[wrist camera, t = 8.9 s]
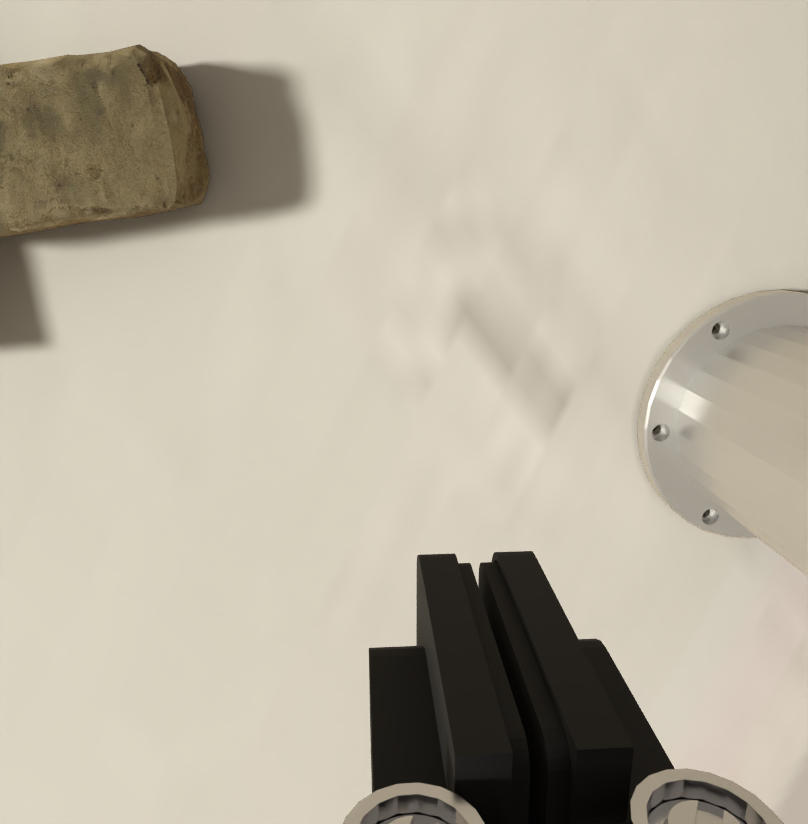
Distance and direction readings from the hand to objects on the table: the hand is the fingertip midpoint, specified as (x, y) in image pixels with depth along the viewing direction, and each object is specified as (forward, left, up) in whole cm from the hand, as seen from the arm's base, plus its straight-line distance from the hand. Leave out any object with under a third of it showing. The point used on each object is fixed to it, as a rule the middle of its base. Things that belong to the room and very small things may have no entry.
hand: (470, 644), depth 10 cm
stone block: (+12, -9, -24) cm, 28 cm away
